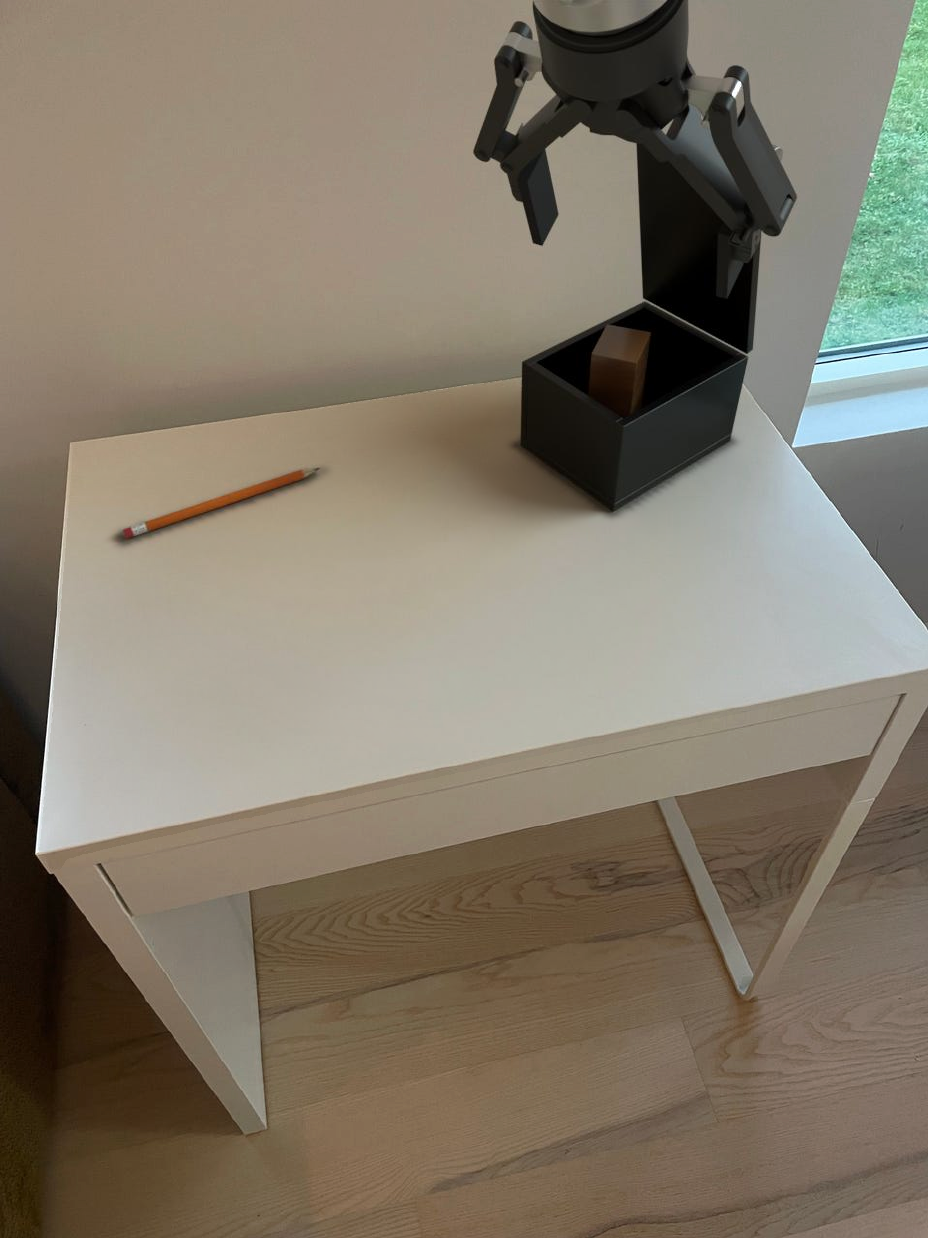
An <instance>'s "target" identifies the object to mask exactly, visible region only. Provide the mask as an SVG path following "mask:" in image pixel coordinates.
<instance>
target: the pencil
mask: <svg viewBox="0 0 928 1238" xmlns="http://www.w3.org/2000/svg"><path fill="white" fill-rule="evenodd" d="M320 469H321V467H316V468H315V467H313V468H305V469H299V470H295V471H293V472H289V473H286V474H284V475H281V476H278V477H274V478H271V479H268V480H266V481H262V482H260V483H257V484H254V485H251V486H248V487H245V488H242V489H238V490H235V491H233V492H230V493H228V494H224V495H222V496H218V497H215V498H211V499H209V500H206V501H204V502H201V503H197V504H194V505H192V506H189V507H186V508H183V509H179V510H176V511H173V512H171V513H167V514H165V515H161V516H159V517H156V518H153V519H150V520H147V521H143V522H141V523H138V524H135V525H132V526H129V527H126V528H123V529H122V532H123V534H124V537H125V539H129V538H132V537H135V536H138V535H141V534H145V533H148V532H151V531H153V530H157V529H159V528H162V527H165V526H169V525H171V524H174V523H177V522H180V521H183V520H186V519H189V518H192V517H195V516H198V515H200V514H203V513H206V512H209V511H213V510H215V509H218V508H222V507H225V506H227V505H230V504H233V503H236V502H238V501H239V502H240V501H241V500H242V501H243V500H244V499H247V498H250V497H254V496H257V495H260V494H263V493H265V492H269V491H271V490H274V489H277V488H279V487H283V486H286V485H289V484H292V483H295V482H298V481H301V480H304V479H305V478H307V477H309V476H311V475H312V474H314V473H315V472H317V471H318V470H320Z"/></svg>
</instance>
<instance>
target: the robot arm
mask: <svg viewBox="0 0 928 1238" xmlns="http://www.w3.org/2000/svg"><path fill="white" fill-rule="evenodd" d="M532 15H533V20H534V25H535V30H536V35H537V39H538V40H535V39H534V38H533V37H534V36H533V31H532V29H531V27H530V26H529V25H528V24H527V23H526V22H523V21H520V20H517V21H515V22H514V23H513V24H512V26H511V27H510V29H509V31H508V33H507V35H506V36H505V39H504V41H503V43H502V45H501V46H500V47H499V50H498V51H497V53H496V56H495V57H494V60H493V65H494V72H495V80H496V81H495V82H496V86H495V89H494V92H493V94H492V97H491V100H490V102H489V106H488V108H487V111H486V113H485V117H484V119H483V122H482V124H481V128H480V130H479V133H478V136H477V139H476V142H475V144H474V146H473V149H472V152H473V155H474V157H475V158H476V160H479V161H481V162H482V163H488V162H490V161H491V159H493V160H495V161H496V162H497V163H499V167H500V170H501V171H502V172H503V173H504V174H506V176H507V180H508V183H509V187H510V191H511V196H512V197H513V198H514V200H515V201H516V202H520V203H522V205H523V210H524V213H525V218H526V222H527V225H528V226H527V227H528V230H529V234H530V238H531V241H532V244H534V245H537V246H541V247H543V246H544V244H545V242H546V240H547V238H548V236H549V234H550V232H551V230H552V228H553V226H554V224H555V223H556V221H557V219H558V217H559V209H558V204H557V199H556V194H555V189H554V185H553V180H552V175H551V170H550V163H549V159H548V156H547V150H546V149H547V148H548V147H549V146H550V145H552V144H553V143H554V142H555V141H556V140H557V139H558V138H561V139H563V138H564V137H565V136H566V135H568V133H570V132H572V130H573V129H575V128H576V127H577V126H578V125H580V124H582V126H583V125H584V126H585V127H587V128H588V129H589V133H590V134H591V133H592V134H596V135H599V136H613V137H617V138H619V139H621V140H624V141H626V142H628V143H632V144H636V143H637V144H640V143H642V144H643V145H644V146H645V147H646V148H647V149H648V150H649V151H650V152H651V154H652V155H653V156H654V157H655V158H656V159H657V160H658V161H659V162H665V161H669V162H670V163H671V164H672V165H673V166H674V167H675V169H676V170H677V171H678V172H679V173H680V174H681V175H682V176H683V177H684V178H685V180H686V181H687V182H688V183H689V184H690V185H691V186H692V187H693V188H694V189H695V191H696V192H697V193H698V194H699V195H700V196H701V197H702V198H703V199H704V200H705V202H706V203H707V204H708V205H709V206H710V207H711V208H712V209H713V210H714V211H715V213H716V214H717V215H718V216H719V217H720V218H721V219H722V220H723V221H724V222H723V224H722V226H721V228H720V230H719V232H718V249H717V281H716V296H718V297H722V298H725V299H727V298H728V296H729V294H730V291H731V289H732V287H733V285H734V283H735V281H736V279H737V277H738V275H739V273H740V270H741V268H742V266H743V262H745V263H748V262H749V261H750V259H751V258H752V256H753V253H754V251H755V249H756V247H757V245H758V243H759V241H760V232H761V231H760V230H762V232H761V233H763V234H764V235H766V236H768V237H773V238H774V237H778V236H780V235H781V233H782V231H783V229H784V227H785V225H786V223H787V221H788V218H789V216H790V214H791V212H792V210H793V208H794V206H795V204H796V202H797V199H798V195H797V192H796V190H795V189H794V186H793V184H792V183H791V181H790V178H789V177H788V174H787V172H786V170H785V168H784V166H783V165H782V161H781V162H780V160H779V158H778V156H777V154H776V152H775V150H774V148H773V146H772V144H773V143H772V141H771V140H770V138H769V136H768V133H767V131H766V130H765V128H764V125H763V124H762V121H761V119H760V118H759V116H758V113H757V111H756V110H755V107H754V105H753V103H752V99H751V84H750V75H749V72H748V71H747V69H746V68H744V67H743V66H741V65H737V64H736V65H735V64H734V65H731V66H729V67H728V68H727V69H726V72H724V75H723V77H722V78H721V77H715V76H714V77H713V76H704V75H697V74H696V71H695V69H694V68H693V66H692V64H691V63H690V60H689V57H688V46H689V32H690V31H689V27H690V26H689V25H690V24H689V23H690V21H689V19H690V18H689V0H532ZM539 72H541V75H542V77H543V80H544V82H545V83H546V84H547V85H548V86H549V88H550V90H552V91H553V93H555V95H554V96H552V98H551V99H550V100H549V101H548V102H547V103H546V104H545V105H544V106H542V107H541V109H539V110H538V112H536V114H534V115H533V116H532V117H531V118H530V119H529V120H528V121H527V122H526V123H524V122H521V124H520V125H519V127H518V130H517V131H516V133H515V134H514V133H512V132H510V131H508V130H507V128H508V126H509V124H510V121H511V119H512V116H513V113H514V111H515V109H516V106H517V104H518V101H519V99H520V96H521V94H522V92H523V89H524V86H525V84H526V82H529V81H530V82H531V81H532V80H533V79H534V78H535V75H537V73H539ZM669 124H670V125H669ZM668 125H669V127H668V130H667V132H666V133H665V132H664V131H663V129H664V128H666V126H668Z"/></svg>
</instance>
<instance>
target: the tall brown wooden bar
mask: <svg viewBox="0 0 928 1238" xmlns="http://www.w3.org/2000/svg"><path fill="white" fill-rule="evenodd" d="M650 337H651V332H646V331H640V330H635V329H629V328H623V327H618V326H612V325H607V326H606V328H605V330H604V332H603V334H602V335H601V337H600V339H599V341H598V343H597V345H596V347H595V349H594V351H593V353H592V355H591V367H590V380H589V392H588V396H589V397H591V398H592V399H594V400H596V401H597V402H599V403H600V404H602V405H603V406H605V407H607V408H608V409H610V410H611V411H613V412H614V413H616V414H618V415H619V416H621V417H622V418H625V417H627V416H628V415H630V414H632V413H634V412H636V411H637V410H639V409H641V405H642V398H643V390H644V382H645V375H646V367H647V359H648V352H649V344H650Z"/></svg>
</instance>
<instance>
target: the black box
mask: <svg viewBox="0 0 928 1238" xmlns="http://www.w3.org/2000/svg"><path fill="white" fill-rule="evenodd" d="M607 325H612V326H618V327H623V328H629V329H635V330H640V331H646V332H651V337H650V344H649V352H648V359H647V367H646V375H645V382H644V390H643V398H642V405H641V409H639V410H637V411H636V412H634V413H632V414H630V415H628V416H627V417H625V418H622V417H621V416H619V415H618V414H616V413H614V412H613V411H611V410H610V409H608V408H607V407H605V406H603V405H602V404H600V403H599V402H597V401H596V400H594V399H592V398H591V397H589V396H588V392H589V380H590V367H591V355H592V353H593V351H594V349H595V347H596V345H597V343H598V341H599V339H600V337H601V335H602V334H603V332H604V330H605V328H606V326H607ZM748 361H749V356H748V355H747V354H745V353H744V352H742V351H740V350H738V349H736V348H734V347H733V346H731V345H729V344H727V343H725V342H723V341H721V340H720V339H718V338H716V337H714V336H712V335H710V334H708V333H707V332H705V331H703V330H701V329H699V328H697V327H695V326H693V325H692V324H690V323H688V322H686V321H684V320H682V319H680V318H679V317H677V316H675V315H673V314H671V313H669V312H667V311H666V310H664V309H662V308H660V307H658V306H656V305H654V304H652V303H651V302H649V301H647V300H645V301H642V302H640V303H637V304H636V305H634V306H632V307H629V308H628V309H626V310H624V311H621V312H620V313H618V314H616V315H614V316H612V317H609V318H608V319H605V320H603V321H602V322H599V323H597V324H596V325H593V326H591V327H589V328H588V329H585V330H584V331H581V332H579V333H577V334H575V335H573V336H571V337H569V338H567V339H565V340H563V341H561V342H559V343H557V344H555V345H553V346H550V347H548V348H547V349H545V350H543V351H540V352H539V353H537V354H534V355H533V356H531V357H529V358H527V359H523V360H522V361H521V388H520V389H521V391H520V393H521V394H520V395H521V396H520V403H521V404H520V436H519V437H520V440H519V441H520V442H519V445H520V446H521V447H522V448H523V449H525V450H526V451H527V452H528V453H531V454H532V455H533V456H535V457H536V458H538V460H540V461H541V462H543V463H545V464H546V465H547V466H549V467H550V468H551V469H553V470H554V471H555V472H557V473H558V474H560V475H561V476H562V477H564V478H565V479H566V480H568V481H569V482H571V483H572V484H574V485H575V486H577V487H578V488H579V489H581V490H582V491H584V492H585V493H586V494H588V495H589V496H591V497H592V498H593V499H595V500H596V501H597V502H599V503H600V504H602V505H603V506H604V507H606V508H607V509H609V510H610V511H611V512H612V513H614V512H616V511H617V510H619V509H621V508H622V507H624V506H625V505H627V504H629V503H630V502H632V501H634V500H636V499H637V498H638V497H640V496H642V495H644V494H646V493H647V492H649V491H650V490H652V489H653V488H656V487H657V486H659V485H661V484H662V483H664V482H666V481H667V480H669V479H670V478H671V477H674V476H675V475H677V474H678V473H680V472H682V471H683V470H685V469H687V468H688V467H690V466H692V465H693V464H694V463H697V462H698V461H700V460H701V459H703V458H705V457H706V456H708V455H710V454H712V453H713V452H715V451H716V450H718V449H720V448H721V447H723V446H724V445H726V444H728V443H729V442H731V438H732V435H733V434H732V433H733V430H734V425H735V420H736V416H737V411H738V407H739V402H740V398H741V394H742V388H743V384H744V379H745V375H746V371H747V365H748Z"/></svg>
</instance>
